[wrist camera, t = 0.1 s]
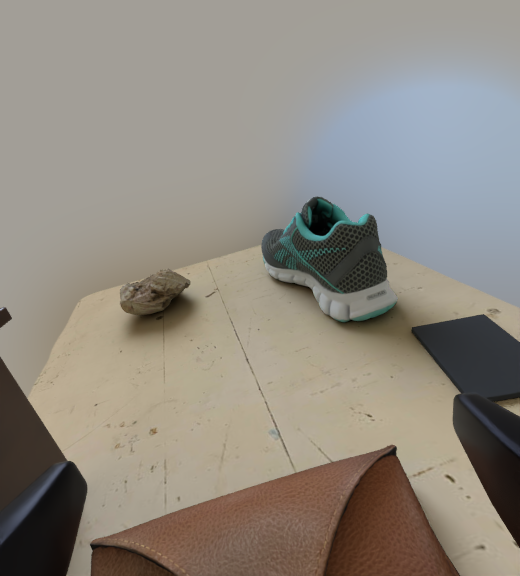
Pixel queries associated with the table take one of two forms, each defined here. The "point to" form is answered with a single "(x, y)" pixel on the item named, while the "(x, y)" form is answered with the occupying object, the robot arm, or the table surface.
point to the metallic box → (21, 437)
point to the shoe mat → (475, 355)
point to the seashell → (152, 292)
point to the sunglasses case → (290, 529)
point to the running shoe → (332, 261)
